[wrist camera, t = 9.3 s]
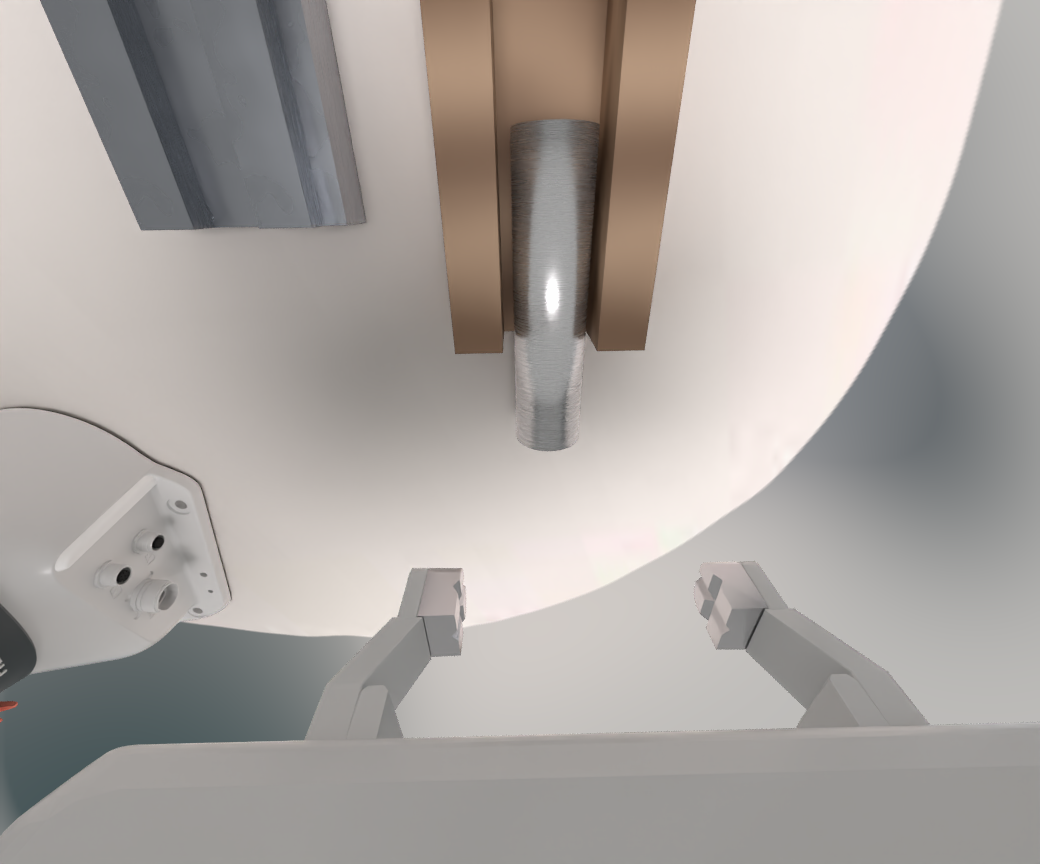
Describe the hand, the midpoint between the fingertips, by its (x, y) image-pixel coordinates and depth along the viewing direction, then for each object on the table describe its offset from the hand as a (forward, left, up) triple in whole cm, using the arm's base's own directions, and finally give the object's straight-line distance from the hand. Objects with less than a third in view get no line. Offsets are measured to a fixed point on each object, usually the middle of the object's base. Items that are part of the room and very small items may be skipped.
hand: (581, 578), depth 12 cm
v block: (+16, +15, -17) cm, 28 cm away
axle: (+5, 0, -16) cm, 17 cm away
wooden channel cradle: (+11, 0, -17) cm, 20 cm away
